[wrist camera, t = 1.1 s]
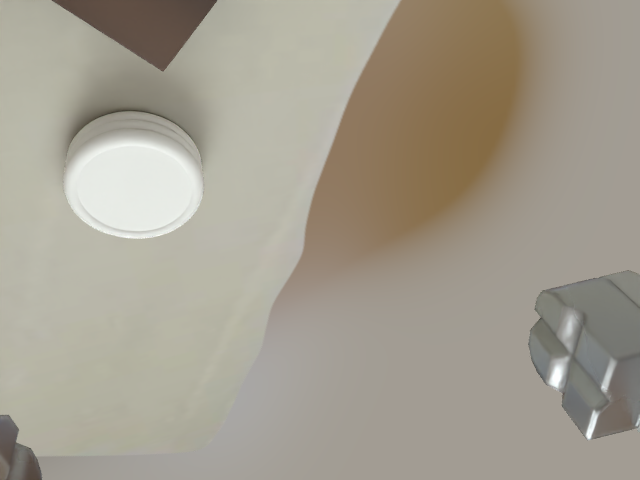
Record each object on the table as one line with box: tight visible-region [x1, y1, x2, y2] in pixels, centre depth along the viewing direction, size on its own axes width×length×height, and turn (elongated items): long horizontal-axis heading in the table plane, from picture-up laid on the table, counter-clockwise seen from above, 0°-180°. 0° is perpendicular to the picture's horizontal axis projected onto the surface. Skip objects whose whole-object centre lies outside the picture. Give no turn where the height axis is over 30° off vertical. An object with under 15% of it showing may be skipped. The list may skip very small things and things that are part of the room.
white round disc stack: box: [63, 111, 204, 238], centre depth 43 cm, size 10×10×4 cm
